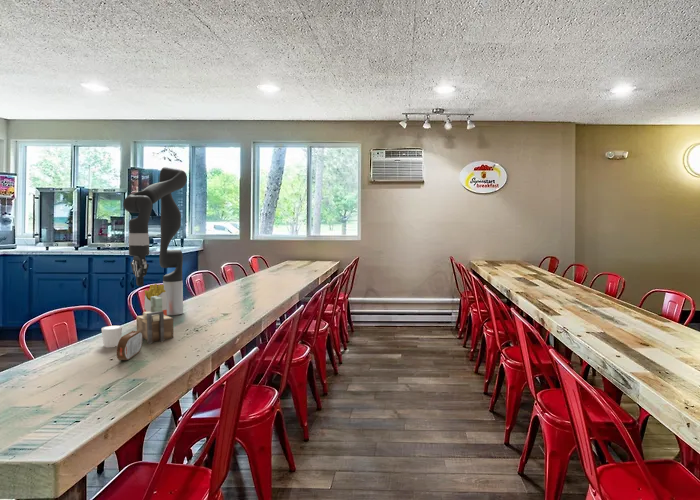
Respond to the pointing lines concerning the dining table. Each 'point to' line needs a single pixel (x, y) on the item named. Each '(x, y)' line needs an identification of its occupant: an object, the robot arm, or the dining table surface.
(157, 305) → the lid
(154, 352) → the dining table surface
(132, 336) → the tin
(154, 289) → the french fries container
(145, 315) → the key
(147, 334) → the toolbox
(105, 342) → the white cup
